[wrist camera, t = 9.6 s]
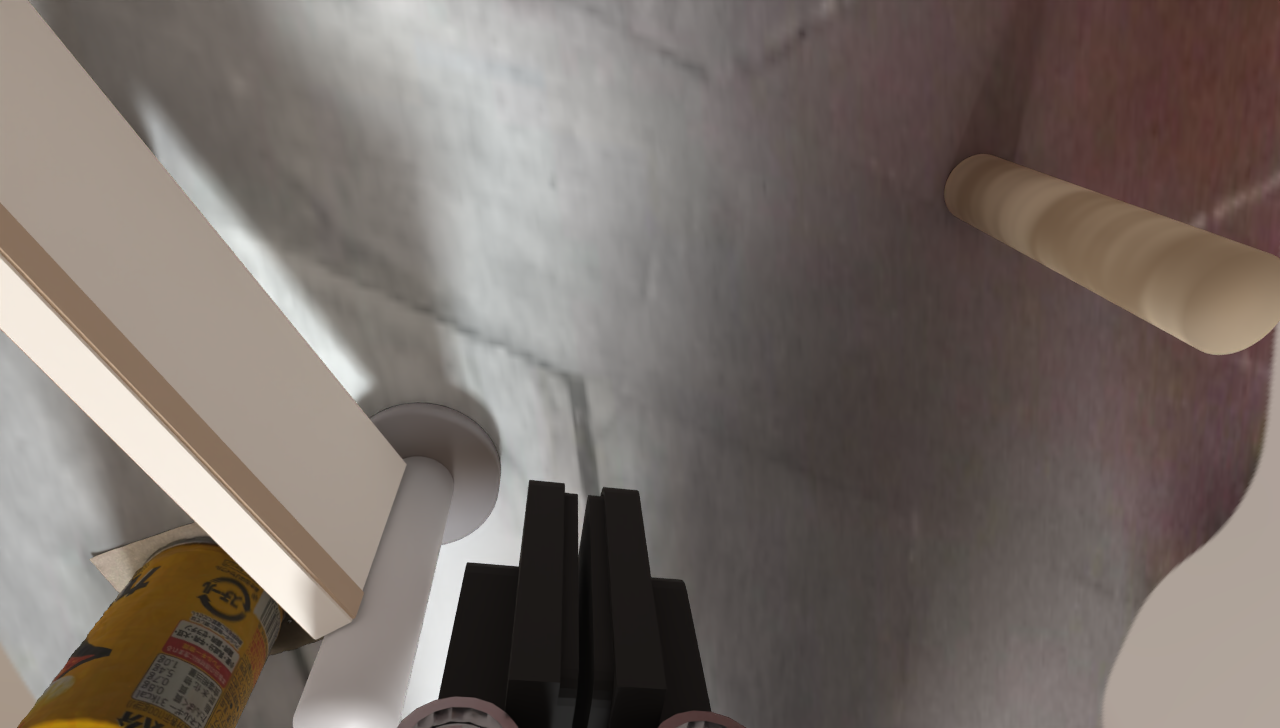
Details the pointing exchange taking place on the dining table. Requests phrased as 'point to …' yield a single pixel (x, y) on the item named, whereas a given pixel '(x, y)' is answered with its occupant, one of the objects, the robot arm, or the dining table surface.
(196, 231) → the gate
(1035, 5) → the dining table surface
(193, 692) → the condiment
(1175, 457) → the dining table surface
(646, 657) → the robot arm
